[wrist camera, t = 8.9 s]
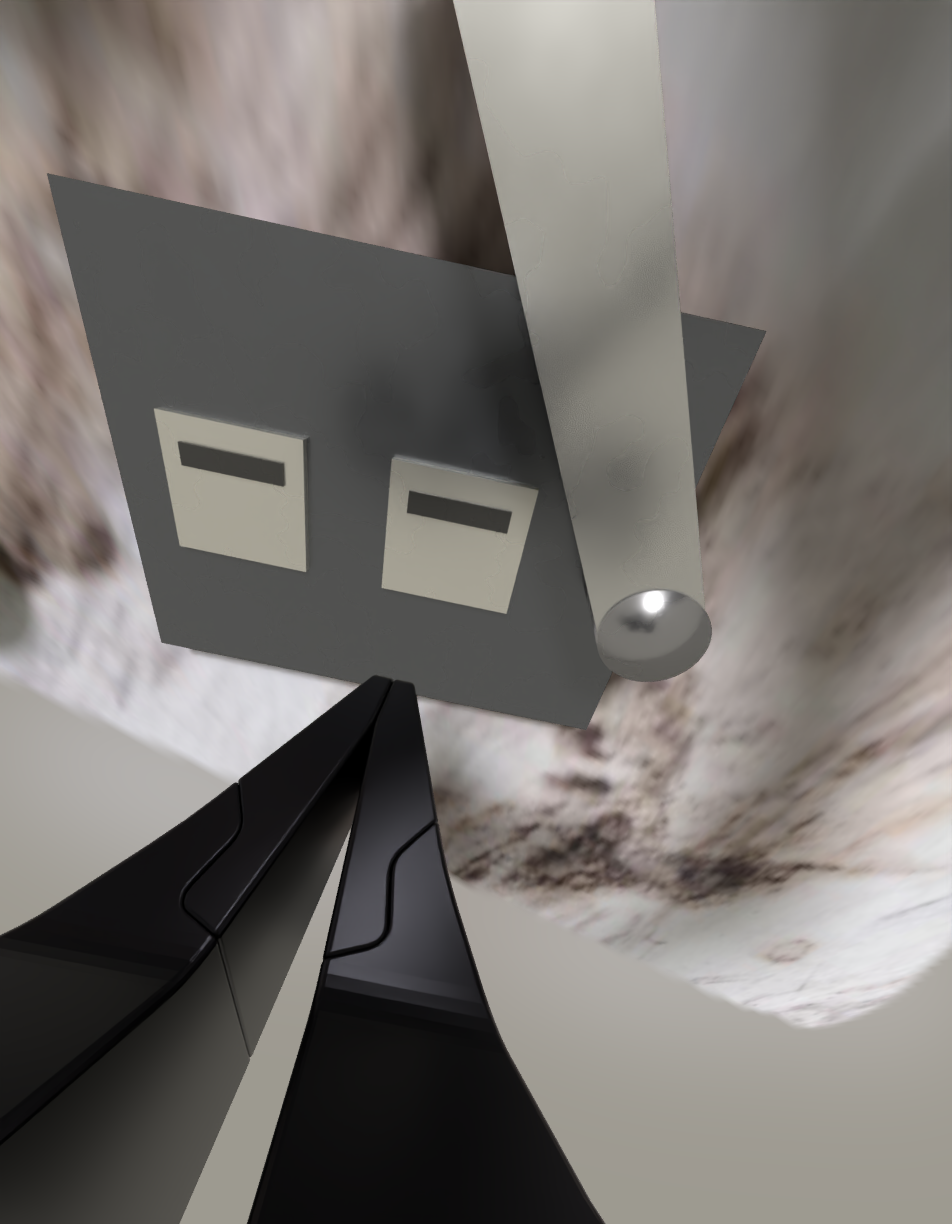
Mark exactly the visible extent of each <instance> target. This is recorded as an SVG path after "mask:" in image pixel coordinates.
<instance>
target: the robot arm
mask: <svg viewBox="0 0 952 1224" xmlns="http://www.w3.org/2000/svg"><path fill="white" fill-rule="evenodd" d="M238 783H239V784H238ZM238 783H233V784H232V785H231V786H230V787H228V788H227V789H226V790H225V791H223V792H222V793H221V794H219V795H218V796H217V797H216V798H214V799H213V800H211V801H210V802H209V803H207V804H206V805H205V806H203V807H202V808H201V809H199V810H198V811H197V812H195V813H194V814H193V815H191V816H190V817H188V818H187V819H186V820H185V821H183V822H181V823H180V824H178V825H177V826H175V827H174V828H172V829H171V830H169V831H168V832H166V833H165V834H163V835H162V836H160V837H159V838H157V839H156V840H155V841H153V842H152V843H150V844H149V845H147V846H146V847H144V848H142V849H141V850H139V851H138V852H136V853H135V854H133V855H132V856H130V857H129V858H127V859H125V860H124V861H122V862H121V863H119V864H118V865H116V866H115V867H113V868H111V869H110V870H108V871H107V872H105V873H104V874H102V875H101V876H99V877H98V878H96V879H94V880H93V881H91V882H90V883H88V884H87V885H85V886H84V887H82V888H81V889H79V890H77V891H76V892H74V893H73V894H71V895H70V896H68V897H67V898H65V899H64V900H62V901H61V902H59V903H57V904H56V905H54V906H53V907H51V908H50V909H48V910H46V911H44V912H43V913H41V914H40V915H38V916H36V917H35V918H33V919H31V920H29V921H28V922H25V923H23V924H22V925H20V926H18V927H16V928H14V929H12V930H10V931H8V932H6V933H4V934H2V935H0V1224H179V1223H180V1221H181V1219H182V1216H183V1214H184V1211H185V1209H186V1207H187V1205H188V1202H189V1200H190V1198H191V1195H192V1193H193V1191H194V1188H195V1186H196V1184H197V1182H198V1179H199V1177H200V1175H201V1172H202V1170H203V1168H204V1165H205V1163H206V1161H207V1159H208V1156H209V1154H210V1151H211V1149H212V1147H213V1145H214V1142H215V1140H216V1138H217V1135H218V1133H219V1131H220V1128H221V1126H222V1124H223V1122H224V1119H225V1117H226V1114H227V1112H228V1110H229V1107H230V1105H231V1103H232V1101H233V1098H234V1096H235V1094H236V1092H237V1089H238V1087H239V1085H240V1082H241V1080H242V1077H243V1075H244V1073H245V1071H246V1069H247V1066H248V1064H249V1061H250V1058H249V1057H251V1056H252V1054H253V1052H254V1050H255V1047H256V1045H257V1043H258V1040H259V1038H260V1036H261V1033H262V1031H263V1029H264V1027H265V1024H266V1022H267V1020H268V1017H269V1015H270V1012H271V1010H272V1008H273V1005H274V1003H275V1001H276V999H277V996H278V994H279V992H280V989H281V987H282V985H283V982H284V980H285V978H286V976H287V973H288V971H289V969H290V966H291V964H292V962H293V959H294V957H295V955H296V953H297V950H298V948H299V946H300V943H301V941H302V939H303V936H304V934H305V932H306V929H307V927H308V925H309V922H310V920H311V917H312V915H313V913H314V911H315V909H316V906H317V904H318V902H319V899H320V897H321V895H322V892H323V890H324V887H325V885H326V883H327V881H328V878H329V876H330V874H331V872H332V869H333V867H334V865H335V862H336V860H337V857H338V855H339V853H340V851H341V848H342V846H343V844H344V841H345V839H346V837H347V835H348V832H349V830H350V828H351V825H352V828H351V832H350V837H349V841H348V846H347V851H346V855H345V860H344V864H343V869H342V873H341V878H340V882H339V887H338V891H337V896H336V900H335V905H334V909H333V914H332V918H331V923H330V927H329V932H328V936H327V941H326V946H325V951H324V955H323V962H322V964H321V968H320V973H319V977H318V981H317V986H316V990H315V994H314V998H313V1002H312V1006H311V1010H310V1014H309V1017H308V1021H307V1024H306V1028H305V1032H304V1035H303V1038H302V1041H301V1044H300V1048H299V1051H298V1055H297V1058H296V1061H295V1065H294V1068H293V1071H292V1075H291V1078H290V1081H289V1085H288V1088H287V1092H286V1095H285V1098H284V1101H283V1105H282V1108H281V1111H280V1115H279V1118H278V1122H277V1125H276V1128H275V1132H274V1135H273V1138H272V1142H271V1145H270V1148H269V1152H268V1155H267V1159H266V1162H265V1165H264V1168H263V1172H262V1175H261V1179H260V1182H259V1185H258V1189H257V1192H256V1195H255V1199H254V1202H253V1205H252V1209H251V1212H250V1215H249V1219H248V1222H247V1224H605V1223H604V1221H603V1219H602V1218H601V1216H600V1215H599V1213H598V1212H597V1210H596V1209H595V1207H594V1206H593V1204H592V1203H591V1201H590V1199H589V1197H588V1195H587V1194H586V1192H585V1190H584V1188H583V1186H582V1185H581V1183H580V1181H579V1179H578V1177H577V1176H576V1174H575V1172H574V1170H573V1168H572V1166H571V1165H570V1163H569V1161H568V1159H567V1158H566V1156H565V1154H564V1152H563V1150H562V1149H561V1147H560V1145H559V1143H558V1141H557V1139H556V1138H555V1136H554V1134H553V1132H552V1130H551V1129H550V1127H549V1125H548V1123H547V1121H546V1120H545V1118H544V1116H543V1114H542V1112H541V1110H540V1109H539V1107H538V1105H537V1103H536V1101H535V1100H534V1098H533V1096H532V1094H531V1092H530V1091H529V1089H528V1087H527V1085H526V1083H525V1081H524V1080H523V1078H522V1076H521V1074H520V1072H519V1071H518V1069H517V1067H516V1065H515V1064H514V1062H513V1060H512V1058H511V1057H510V1054H509V1052H508V1051H507V1049H506V1047H505V1044H504V1042H503V1040H502V1038H501V1036H500V1033H499V1031H498V1028H497V1026H496V1023H495V1021H494V1018H493V1015H492V1013H491V1010H490V1007H489V1005H488V1001H487V998H486V996H485V993H484V990H483V986H482V983H481V980H480V977H479V974H478V970H477V967H476V964H475V961H474V958H473V954H472V951H471V948H470V945H469V942H468V938H467V935H466V932H465V929H464V926H463V923H462V919H461V916H460V913H459V910H458V906H457V903H456V899H455V896H454V892H453V888H452V885H451V881H450V877H449V874H448V869H447V864H446V860H445V855H444V850H443V845H442V840H441V834H440V828H439V824H438V823H437V822H438V818H437V812H436V806H435V801H434V795H433V789H432V783H431V777H430V772H429V766H428V760H427V754H426V748H425V743H424V737H423V731H422V725H421V719H420V714H419V708H418V702H417V696H416V690H415V685H414V684H413V683H412V682H408V681H403V680H398V679H396V680H395V681H393V679H392V678H389V677H384V676H379V675H373V676H372V677H370V678H369V679H368V680H366V681H365V682H364V683H362V684H361V685H360V686H359V687H357V688H356V689H355V690H353V691H352V692H351V693H350V694H348V695H347V696H346V697H344V698H343V699H342V700H341V701H339V702H338V703H337V704H335V705H334V706H333V707H332V708H330V709H329V710H328V711H326V712H325V713H324V714H323V715H321V716H320V717H319V718H317V719H316V720H315V721H314V722H312V723H311V724H310V725H308V726H307V727H306V728H305V729H303V730H302V731H301V732H299V733H298V734H297V735H296V736H294V737H293V738H292V739H290V740H289V741H288V742H287V743H285V744H284V745H283V746H281V747H280V748H279V749H278V750H276V751H275V752H274V753H272V754H271V755H270V756H269V757H267V758H266V759H265V760H263V761H262V762H261V763H260V764H258V765H257V766H256V767H254V768H253V769H252V770H251V771H249V772H248V773H247V774H245V775H244V776H243V777H242V778H240V779H239V781H238Z"/></svg>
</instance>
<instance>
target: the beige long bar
mask: <svg viewBox="0 0 952 1224" xmlns="http://www.w3.org/2000/svg"><path fill="white" fill-rule="evenodd" d="M453 4H454V8H455V12H456V17H457V21H458V26H459V30H460V34H461V39H462V43H463V48H464V52H465V56H466V61H467V65H468V69H469V74H470V78H471V83H472V87H473V91H474V96H475V100H476V104H477V109H478V113H479V118H480V122H481V126H482V131H483V135H484V139H485V144H486V148H487V153H488V157H489V161H490V166H491V170H492V175H493V179H494V183H495V188H496V192H497V196H498V201H499V205H500V210H501V214H502V218H503V223H504V227H505V231H506V236H507V240H508V245H509V249H510V253H511V258H512V262H513V267H514V271H515V275H516V280H517V284H518V288H519V293H520V297H521V302H522V306H523V310H524V315H525V319H526V323H527V328H528V332H529V337H530V341H531V345H532V350H533V354H534V358H535V363H536V367H537V372H538V376H539V380H540V385H541V389H542V394H543V398H544V402H545V407H546V411H547V415H548V420H549V424H550V429H551V433H552V437H553V442H554V446H555V450H556V455H557V459H558V464H559V468H560V472H561V477H562V481H563V486H564V490H565V494H566V499H567V503H568V507H569V512H570V516H571V521H572V525H573V529H574V534H575V538H576V542H577V547H578V551H579V556H580V560H581V564H582V569H583V573H584V577H585V582H586V586H587V604H588V608H589V613H590V617H591V622H592V626H593V631H594V635H595V640H596V644H597V649H598V652H599V655H600V657H601V659H602V661H603V663H604V664H605V665H606V666H607V667H608V668H609V669H610V670H611V671H612V672H614V673H615V674H617V675H619V676H621V677H623V678H626V679H629V680H634V681H641V682H654V681H661V680H665V679H669V678H672V677H675V676H677V675H679V674H681V673H683V672H685V671H687V670H688V669H689V668H691V667H692V666H693V665H695V664H696V663H697V662H698V661H699V660H700V659H701V657H702V656H703V655H704V653H705V652H706V650H707V648H708V646H709V643H710V641H711V635H712V627H711V622H710V619H709V617H708V615H707V613H706V611H705V600H704V588H703V576H702V564H701V552H700V540H699V528H698V516H697V504H696V492H695V480H694V468H693V456H692V444H691V432H690V420H689V408H688V396H687V384H686V372H685V360H684V348H683V336H682V324H681V312H680V300H679V288H678V276H677V264H676V252H675V240H674V228H673V216H672V204H671V192H670V180H669V168H668V156H667V144H666V132H665V120H664V108H663V96H662V84H661V72H660V60H659V48H658V36H657V24H656V12H655V0H453Z"/></svg>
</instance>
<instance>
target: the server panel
mask: <svg viewBox="0 0 952 1224" xmlns="http://www.w3.org/2000/svg"><path fill="white" fill-rule="evenodd" d="M47 176H48V180H49V184H50V188H51V192H52V196H53V200H54V204H55V208H56V213H57V217H58V221H59V225H60V229H61V233H62V237H63V241H64V245H65V249H66V253H67V258H68V262H69V266H70V270H71V274H72V278H73V282H74V286H75V290H76V294H77V298H78V303H79V307H80V311H81V315H82V319H83V323H84V327H85V331H86V335H87V339H88V344H89V348H90V352H91V356H92V360H93V364H94V368H95V372H96V376H97V380H98V384H99V389H100V393H101V397H102V401H103V405H104V409H105V413H106V417H107V421H108V425H109V429H110V434H111V438H112V442H113V446H114V450H115V454H116V458H117V462H118V466H119V470H120V475H121V479H122V483H123V487H124V491H125V495H126V499H127V503H128V507H129V511H130V515H131V520H132V524H133V528H134V532H135V536H136V540H137V544H138V548H139V552H140V556H141V560H142V565H143V569H144V573H145V577H146V581H147V585H148V589H149V593H150V597H151V601H152V605H153V610H154V614H155V618H156V622H157V626H158V630H159V634H160V638H161V642H162V643H166V644H171V645H176V646H181V647H186V648H190V649H195V650H200V651H205V652H210V653H215V654H220V655H225V656H229V657H234V658H239V659H244V660H249V661H254V662H259V663H263V664H268V665H273V666H278V667H283V668H288V669H293V670H298V671H302V672H307V673H312V674H317V675H322V676H327V677H332V678H336V679H341V680H346V681H351V682H356V683H361V684H362V683H364V682H365V681H366V680H368V679H369V678H370V677H372V676H373V675H379V676H384V677H389V678H392V679H393V681H395V680H396V679H398V680H403V681H408V682H412V683H413V684H414V685H415V690H416V695H419V696H424V697H429V698H434V699H439V700H443V701H448V702H453V703H458V704H463V705H468V706H473V707H478V708H482V709H487V710H492V711H497V712H502V713H507V714H512V715H516V716H521V717H526V718H531V719H536V720H541V721H546V722H551V723H555V724H560V725H565V726H570V727H575V728H580V729H585V730H586V729H587V727H588V725H589V722H590V720H591V718H592V716H593V714H594V711H595V709H596V707H597V705H598V702H599V700H600V698H601V696H602V694H603V691H604V689H605V687H606V685H607V683H608V680H609V678H610V676H611V674H612V671H611V670H610V669H609V668H608V667H607V666H606V665H605V664H604V663H603V661H602V659H601V657H600V655H599V652H598V649H597V644H596V640H595V635H594V631H593V626H592V622H591V617H590V613H589V608H588V604H587V586H586V582H585V577H584V573H583V569H582V564H581V560H580V556H579V551H578V547H577V542H576V538H575V534H574V529H573V525H572V521H571V516H570V512H569V507H568V503H567V499H566V494H565V490H564V486H563V481H562V477H561V472H560V468H559V464H558V459H557V455H556V450H555V446H554V442H553V437H552V433H551V429H550V424H549V420H548V415H547V411H546V407H545V402H544V398H543V394H542V389H541V385H540V380H539V376H538V372H537V367H536V363H535V358H534V354H533V350H532V345H531V341H530V337H529V332H528V328H527V323H526V319H525V315H524V310H523V306H522V302H521V297H520V293H519V288H518V284H517V280H516V276H513V275H508V274H504V273H499V272H495V271H490V270H486V269H481V268H476V267H472V266H467V265H463V264H458V263H454V262H449V261H445V260H440V259H435V258H431V257H426V256H422V255H417V254H413V253H408V252H403V251H399V250H394V249H390V248H385V247H381V246H376V245H372V244H367V243H362V242H358V241H353V240H349V239H344V238H340V237H335V236H331V235H326V234H321V233H317V232H312V231H308V230H303V229H299V228H294V227H290V226H285V225H280V224H276V223H271V222H267V221H262V220H258V219H253V218H248V217H244V216H239V215H235V214H230V213H226V212H221V211H217V210H212V209H207V208H203V207H198V206H194V205H189V204H185V203H180V202H176V201H171V200H166V199H162V198H157V197H153V196H148V195H144V194H139V193H135V192H130V191H125V190H121V189H116V188H112V187H107V186H103V185H98V184H94V183H89V182H84V181H80V180H75V179H71V178H66V177H62V176H57V175H52V174H48V173H47ZM681 324H682V336H683V348H684V360H685V372H686V384H687V396H688V408H689V420H690V432H691V444H692V456H693V468H694V480H695V488H696V486H697V484H698V481H699V479H700V477H701V475H702V472H703V470H704V468H705V466H706V464H707V461H708V459H709V457H710V455H711V453H712V450H713V448H714V446H715V444H716V441H717V439H718V437H719V435H720V433H721V430H722V428H723V426H724V424H725V422H726V419H727V417H728V415H729V413H730V411H731V408H732V406H733V404H734V402H735V399H736V397H737V395H738V393H739V391H740V388H741V386H742V384H743V382H744V380H745V377H746V375H747V373H748V371H749V369H750V366H751V364H752V362H753V360H754V357H755V355H756V353H757V351H758V349H759V346H760V344H761V342H762V340H763V338H764V335H765V333H766V331H764V330H759V329H754V328H750V327H745V326H741V325H736V324H732V323H727V322H723V321H718V320H713V319H709V318H704V317H700V316H695V315H691V314H686V313H682V312H681Z"/></svg>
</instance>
